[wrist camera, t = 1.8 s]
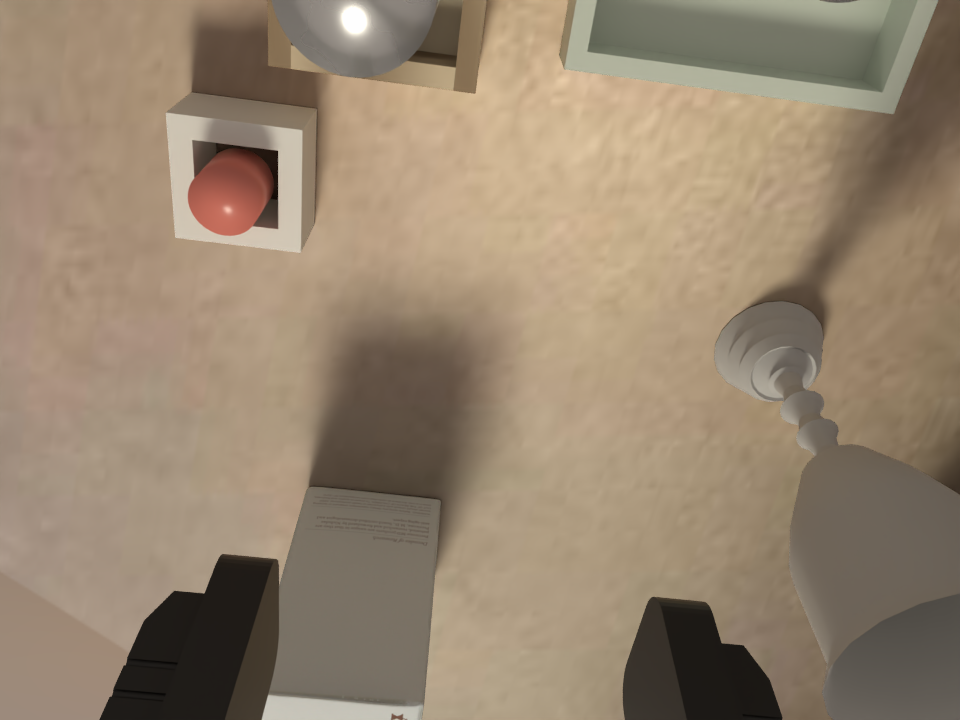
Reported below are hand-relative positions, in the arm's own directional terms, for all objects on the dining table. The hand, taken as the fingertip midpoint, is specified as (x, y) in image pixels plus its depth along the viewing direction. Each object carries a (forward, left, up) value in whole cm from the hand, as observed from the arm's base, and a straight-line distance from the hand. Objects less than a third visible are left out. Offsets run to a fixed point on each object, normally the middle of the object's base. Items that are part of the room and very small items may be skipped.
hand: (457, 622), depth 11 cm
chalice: (-15, +9, -26) cm, 31 cm away
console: (+9, +3, -25) cm, 27 cm away
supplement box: (+3, +24, -26) cm, 35 cm away
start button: (+9, +3, -23) cm, 25 cm away
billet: (+4, -5, -24) cm, 25 cm away
